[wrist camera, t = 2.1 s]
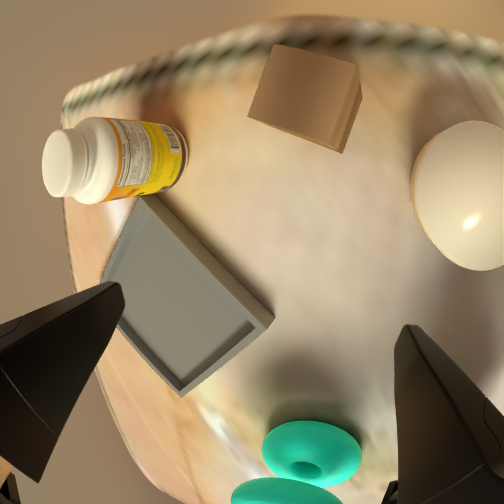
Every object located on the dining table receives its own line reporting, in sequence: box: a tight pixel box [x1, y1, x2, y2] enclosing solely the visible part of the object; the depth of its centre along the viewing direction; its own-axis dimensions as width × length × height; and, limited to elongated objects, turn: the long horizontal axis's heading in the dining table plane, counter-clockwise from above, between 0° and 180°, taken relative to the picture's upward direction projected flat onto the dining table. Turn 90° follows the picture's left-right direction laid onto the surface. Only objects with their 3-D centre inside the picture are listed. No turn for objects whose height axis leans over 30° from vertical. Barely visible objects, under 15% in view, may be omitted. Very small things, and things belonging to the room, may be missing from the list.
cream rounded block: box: [410, 120, 504, 271], centre depth 13 cm, size 8×8×4 cm
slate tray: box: [100, 194, 275, 397], centre depth 25 cm, size 14×14×2 cm
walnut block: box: [247, 44, 362, 153], centre depth 14 cm, size 4×4×6 cm
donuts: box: [231, 420, 362, 504], centre depth 19 cm, size 10×10×10 cm
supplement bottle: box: [42, 117, 188, 204], centre depth 17 cm, size 6×6×10 cm
